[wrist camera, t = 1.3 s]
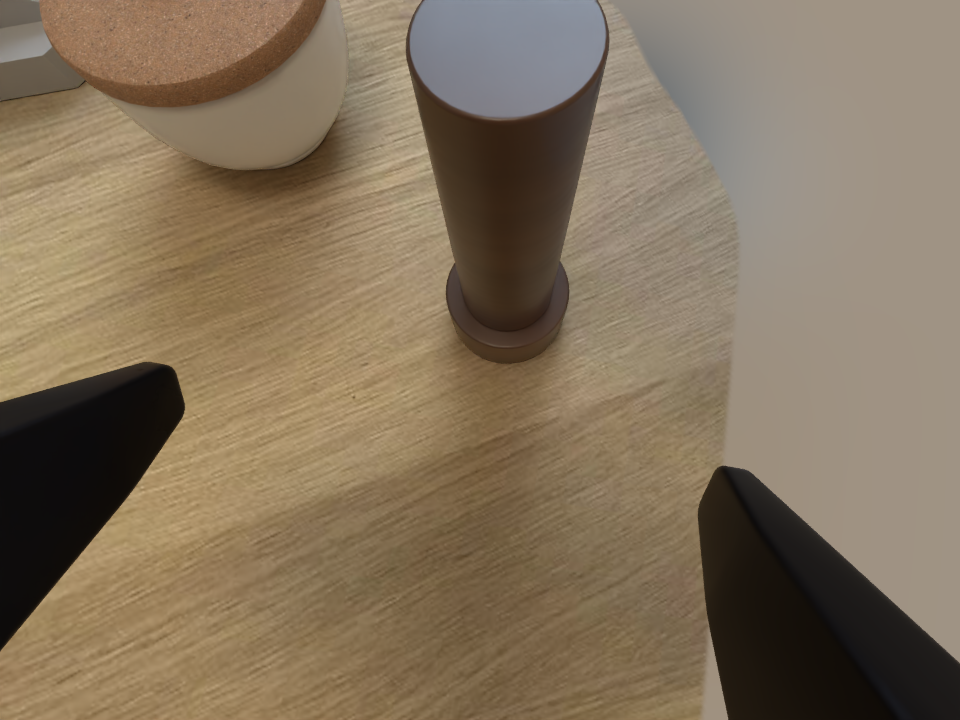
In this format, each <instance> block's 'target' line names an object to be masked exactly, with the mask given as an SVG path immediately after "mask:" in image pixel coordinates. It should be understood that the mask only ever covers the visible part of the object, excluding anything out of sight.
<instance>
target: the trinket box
mask: <svg viewBox="0 0 960 720" xmlns="http://www.w3.org/2000/svg"><path fill="white" fill-rule="evenodd" d="M39 3H40V13H41V18H42V23H43V28H44V31H45V33H46V35H47V37H48V39H49V41H50V43H51V45H52V47H53V48H54V49H55V51H56V52H57V53H58V54H59V56H60V57H61V58H62V59H63V60H64V61H65V62H66V63H67V64H68V65H69V66H70V67H71V68H72V69H73V70H74V71H75V72H76V73H77V74H78V75H80V76H81V77H82V78H83V79H84V80H86V81H87V82H88V83H89V84H90V85H92V86H93V87H94V88H96V89H97V90H99V91H101V92H102V93H103V94H104V95H105V96H106V97H107V98H108V99H109V100H110V101H111V102H112V103H113V104H115V105H116V106H117V107H118V108H119V109H120V110H121V111H122V112H124V113H125V114H126V115H127V116H128V117H129V118H131V119H132V120H133V121H134V122H135V123H137V124H138V125H139V126H141V127H142V128H143V129H145V130H146V131H147V132H149V133H150V134H151V135H153V136H154V137H155V138H157V139H158V140H160V141H162V142H163V143H165V144H167V145H168V146H170V147H172V148H173V149H175V150H177V151H179V152H180V153H182V154H184V155H186V156H188V157H191V158H193V159H196V160H198V161H201V162H204V163H207V164H210V165H213V166H218V167H223V168H229V169H235V170H256V169H277V168H282V167H286V166H289V165H291V164H294V163H296V162H298V161H300V160H302V159H304V158H305V157H306V156H308V155H309V154H311V153H312V152H313V151H314V150H315V149H316V148H317V147H318V146H319V145H320V143H321V142H322V141H323V140H324V138H325V136H326V134H327V133H328V130H329V129H330V128H331V126H332V125H333V123H334V121H335V119H336V118H337V116H338V114H339V111H340V109H341V106H342V103H343V100H344V97H345V94H346V89H347V83H348V73H349V51H348V42H347V34H346V29H345V24H344V20H343V15H342V10H341V6H340V1H339V0H39Z"/></svg>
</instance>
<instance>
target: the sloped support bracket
mask: <svg viewBox="0 0 960 720" xmlns="http://www.w3.org/2000/svg"><path fill="white" fill-rule="evenodd" d="M84 81H85V80H84V79H83V78H82V77H81V76H80V75H78V74H77V73H76V72H75V71H74V70H73V69H72V68H71V67H70V66H69V65H68V64H67V63H66V62H65V61H64V60H63V59H62V58H61V57H60V56H59V54H58V53H57V52H56V51H55V49H54V48H53V47H52V45H51V43H50V41H49V39H48V37H47V35H46V33H45V31H44V28H43V23H42V18H41V13H40V3H39V0H0V101H2V100H8V99H14V98H19V97H25V96H31V95H37V94H43V93H49V92H54V91H60V90H66V89H72V88H77V87H78V86H80V85H81V84H82V83H83V82H84Z"/></svg>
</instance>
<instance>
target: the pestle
mask: <svg viewBox="0 0 960 720" xmlns="http://www.w3.org/2000/svg"><path fill="white" fill-rule="evenodd" d="M608 51H609V30H608V25H607V21H606V17H605V14H604V12H603V10H602V7H601V5H600V4H599V2H598V0H422V1H421V3H420V4H419V6H418V7H417V9H416V11H415V13H414V14H413V17H412V19H411V22H410V25H409V29H408V33H407V38H406V57H407V63H408V67H409V71H410V75H411V80H412V84H413V88H414V92H415V96H416V101H417V105H418V109H419V113H420V117H421V122H422V126H423V130H424V134H425V138H426V143H427V147H428V151H429V155H430V159H431V164H432V168H433V172H434V176H435V180H436V185H437V189H438V193H439V197H440V201H441V206H442V210H443V214H444V218H445V222H446V227H447V231H448V235H449V239H450V243H451V248H452V252H453V256H454V260H455V263H454V265H453V267H452V269H451V271H450V273H449V276H448V279H447V285H446V300H447V305H448V309H449V312H450V315H451V318H452V321H453V324H454V327H455V329H456V332H457V334H458V336H459V337H460V339H461V340H462V342H463V343H464V344H465V345H466V346H467V347H468V348H469V349H470V350H471V351H472V352H473V353H475V354H476V355H478V356H480V357H482V358H484V359H486V360H489V361H492V362H496V363H518V362H522V361H526V360H528V359H531V358H533V357H535V356H537V355H538V354H540V353H541V352H542V351H544V350H545V349H546V348H547V347H548V346H549V345H550V344H551V343H552V341H553V340H554V339H555V337H556V335H557V334H558V331H559V329H560V326H561V323H562V320H563V317H564V314H565V311H566V308H567V305H568V300H569V283H568V278H567V275H566V272H565V270H564V267H563V265H562V264H561V262H560V258H561V253H562V249H563V245H564V240H565V236H566V232H567V228H568V223H569V219H570V215H571V210H572V206H573V202H574V197H575V193H576V189H577V185H578V180H579V176H580V172H581V167H582V163H583V159H584V155H585V150H586V146H587V142H588V137H589V133H590V129H591V125H592V120H593V116H594V112H595V107H596V103H597V99H598V94H599V90H600V86H601V82H602V77H603V73H604V69H605V64H606V60H607V56H608Z"/></svg>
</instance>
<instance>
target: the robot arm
mask: <svg viewBox="0 0 960 720" xmlns="http://www.w3.org/2000/svg"><path fill="white" fill-rule="evenodd" d="M184 411H185V403H184V399H183V395H182V392H181V388H180V385H179V381H178V378H177V374H176V372H175V370H174V369H173V368H172V367H170V366H169V365H165V364H159V363H154V362H143V363H139V364H135V365H132V366H128V367H125V368H121V369H117V370H114V371H110V372H107V373H103V374H100V375H96V376H93V377H89V378H85V379H82V380H78V381H75V382H71V383H68V384H64V385H60V386H57V387H53V388H50V389H46V390H43V391H39V392H36V393H32V394H28V395H25V396H21V397H18V398H14V399H11V400H7V401H4V402H0V651H1V650H2V648H3V647H4V646H5V645H6V644H7V642H8V641H9V640H10V639H11V638H12V636H13V635H14V634H15V633H16V631H17V630H18V629H19V628H20V627H21V625H22V624H23V623H24V622H25V621H26V619H27V618H28V617H29V616H30V615H31V613H32V612H33V611H34V610H35V609H36V607H37V606H38V605H39V604H40V602H41V601H42V600H43V599H44V598H45V596H46V595H47V594H48V593H49V592H50V590H51V589H52V588H53V587H54V586H55V584H56V583H57V582H58V581H59V580H60V578H61V577H62V576H63V575H64V573H65V572H66V571H67V570H68V569H69V567H70V566H71V565H72V564H73V563H74V561H75V560H76V559H77V558H78V557H79V555H80V554H81V553H82V552H83V551H84V549H85V548H86V547H87V546H88V544H89V543H90V542H91V541H92V540H93V538H94V537H95V536H96V535H97V534H98V532H99V531H100V530H101V529H102V528H103V526H104V525H105V524H106V523H107V522H108V520H109V519H110V518H111V517H112V515H113V514H114V513H115V512H116V511H117V509H118V508H119V507H120V506H121V505H122V503H123V502H124V501H125V500H126V498H127V497H128V496H129V494H130V493H131V492H132V491H133V489H134V488H135V486H136V485H137V484H138V482H139V481H140V479H141V478H142V476H143V475H144V473H145V472H146V470H147V469H148V468H149V466H150V465H151V463H152V462H153V460H154V459H155V457H156V456H157V454H158V453H159V451H160V450H161V448H162V447H163V445H164V444H165V443H166V441H167V440H168V438H169V437H170V435H171V434H172V432H173V431H174V429H175V428H176V426H177V425H178V423H179V422H180V420H181V419H182V417H183V414H184ZM698 524H699V535H700V546H701V557H702V568H703V580H704V591H705V601H706V609H707V616H708V622H709V627H710V632H711V637H712V642H713V647H714V652H715V656H716V661H717V666H718V671H719V676H720V681H721V685H722V691H723V695H724V700H725V705H726V710H727V714H728V720H960V663H959V662H958V661H957V660H955V658H953V657H952V656H951V655H950V654H949V653H948V652H947V651H946V650H945V649H944V648H942V647H941V646H940V645H939V644H938V643H937V642H936V641H935V640H934V639H933V638H932V637H930V636H929V635H928V634H927V633H926V632H925V631H924V630H922V628H921V627H920V626H918V625H917V624H916V623H915V622H914V621H913V620H912V619H911V618H910V617H908V615H906V614H905V613H904V612H903V611H902V610H901V609H900V608H899V607H898V606H896V605H895V604H894V603H893V602H892V601H891V600H890V599H889V598H888V597H887V596H886V595H884V594H883V593H882V592H881V591H880V590H879V589H878V588H877V587H876V586H875V585H874V584H872V583H871V582H870V581H869V580H868V579H867V578H866V577H865V576H864V575H863V574H862V573H860V572H859V571H858V570H857V569H856V568H855V567H854V566H853V565H852V564H851V563H849V562H848V561H847V560H846V559H845V558H844V557H843V556H842V555H841V554H840V553H839V552H837V551H836V550H835V549H834V548H833V547H832V546H831V545H830V544H829V543H828V542H826V541H825V540H824V539H823V538H822V537H821V536H820V535H819V534H818V533H817V532H816V531H814V530H813V529H812V528H811V527H810V526H809V525H808V524H807V523H806V522H805V521H803V520H802V519H801V518H800V517H799V516H798V515H797V514H796V513H795V512H794V511H792V510H791V509H790V508H789V507H788V506H787V505H786V504H785V503H784V502H783V501H782V500H780V499H779V498H778V497H777V496H776V495H775V494H774V493H773V492H772V491H771V490H770V489H768V488H767V487H766V486H765V485H764V484H763V483H762V482H761V481H760V480H759V479H757V478H756V477H755V476H754V475H753V474H752V473H751V472H749V471H747V470H745V469H740V468H734V467H728V466H720V467H718V468H717V469H716V470H715V472H714V473H713V475H712V478H711V480H710V482H709V484H708V486H707V488H706V490H705V493H704V495H703V497H702V499H701V501H700V504H699V508H698Z"/></svg>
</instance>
